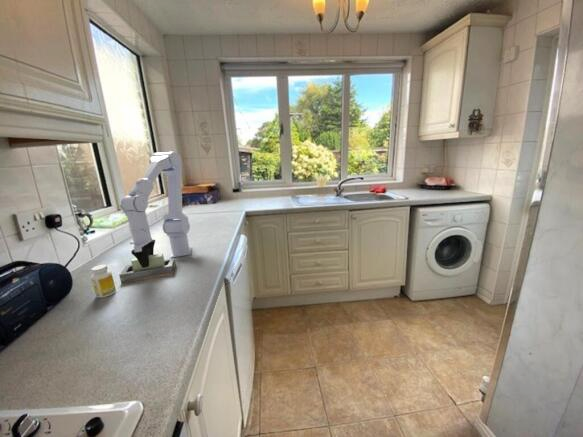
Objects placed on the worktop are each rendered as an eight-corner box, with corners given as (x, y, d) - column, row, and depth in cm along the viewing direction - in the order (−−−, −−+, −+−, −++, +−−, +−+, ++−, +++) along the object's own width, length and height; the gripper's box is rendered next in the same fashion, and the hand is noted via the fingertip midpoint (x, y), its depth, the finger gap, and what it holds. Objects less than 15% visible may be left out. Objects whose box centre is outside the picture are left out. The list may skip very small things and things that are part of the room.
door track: (128, 273, 97) (126, 265, 96) (176, 265, 101) (174, 257, 100) (121, 283, 89) (119, 274, 89) (173, 274, 94) (171, 266, 93)
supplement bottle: (92, 299, 80) (84, 271, 78) (103, 290, 86) (95, 264, 83) (110, 297, 81) (102, 270, 78) (119, 288, 86) (112, 262, 84)
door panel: (137, 272, 95) (133, 257, 94) (165, 267, 98) (162, 253, 96) (134, 276, 93) (131, 261, 91) (164, 270, 95) (161, 256, 94)
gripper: (133, 224, 96) (141, 257, 100) (120, 236, 83) (129, 273, 86) (153, 222, 98) (160, 254, 102) (144, 233, 85) (152, 269, 88)
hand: (148, 263), depth 94 cm, fingers open, 6 cm apart
